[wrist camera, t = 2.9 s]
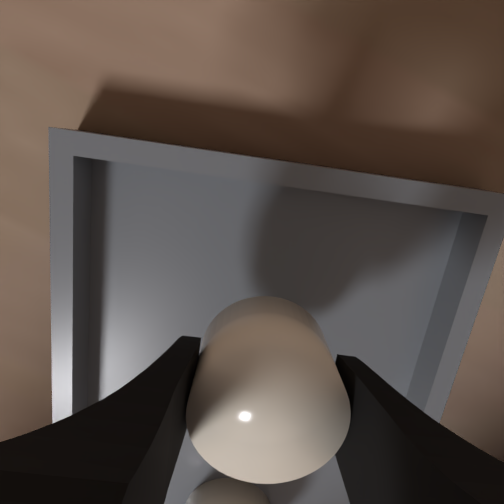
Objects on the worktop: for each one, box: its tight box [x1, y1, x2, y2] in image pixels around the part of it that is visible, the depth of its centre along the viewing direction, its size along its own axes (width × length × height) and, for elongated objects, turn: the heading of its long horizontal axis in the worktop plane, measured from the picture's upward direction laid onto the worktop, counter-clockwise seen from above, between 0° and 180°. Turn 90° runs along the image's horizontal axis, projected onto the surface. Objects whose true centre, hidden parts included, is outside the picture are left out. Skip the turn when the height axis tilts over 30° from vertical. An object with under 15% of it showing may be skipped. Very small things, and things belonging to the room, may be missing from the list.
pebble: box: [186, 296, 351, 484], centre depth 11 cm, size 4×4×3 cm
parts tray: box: [49, 127, 504, 504], centre depth 16 cm, size 24×16×2 cm, turn 172°
